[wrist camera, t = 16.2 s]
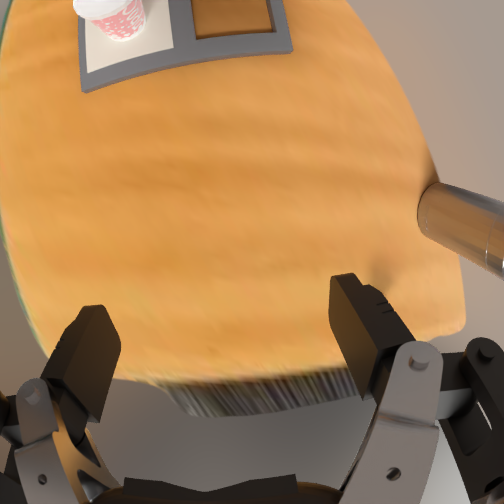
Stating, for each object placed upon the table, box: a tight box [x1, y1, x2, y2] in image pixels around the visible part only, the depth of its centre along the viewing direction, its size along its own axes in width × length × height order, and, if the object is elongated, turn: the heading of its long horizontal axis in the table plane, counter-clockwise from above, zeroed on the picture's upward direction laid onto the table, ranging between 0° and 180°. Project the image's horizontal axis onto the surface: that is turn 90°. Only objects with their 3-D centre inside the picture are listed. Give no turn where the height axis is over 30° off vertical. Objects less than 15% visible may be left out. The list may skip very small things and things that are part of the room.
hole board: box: [78, 0, 293, 93], centre depth 23 cm, size 24×14×2 cm, turn 99°
